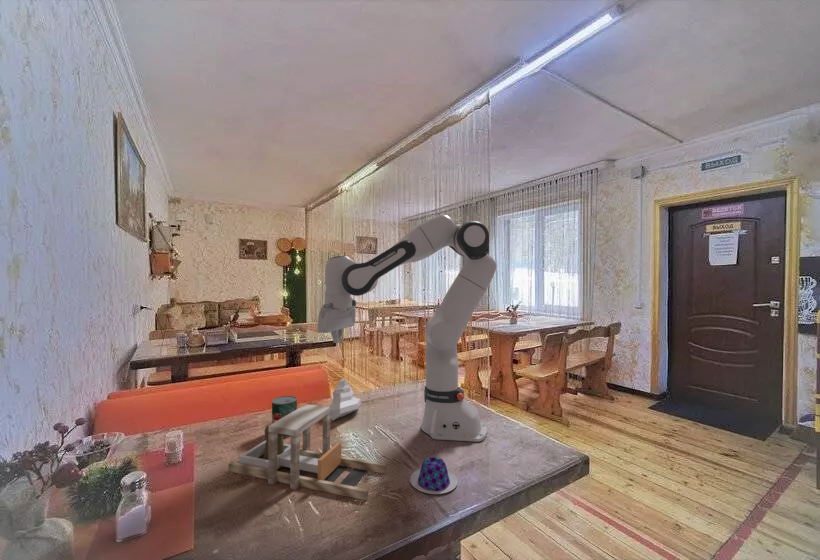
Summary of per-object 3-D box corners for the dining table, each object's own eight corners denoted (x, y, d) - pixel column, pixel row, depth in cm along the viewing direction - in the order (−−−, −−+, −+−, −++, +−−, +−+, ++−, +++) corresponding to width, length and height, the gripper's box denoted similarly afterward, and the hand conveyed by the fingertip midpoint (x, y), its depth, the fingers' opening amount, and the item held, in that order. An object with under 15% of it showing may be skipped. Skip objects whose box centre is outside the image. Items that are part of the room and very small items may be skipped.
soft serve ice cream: (317, 422, 128) (313, 382, 132) (346, 413, 141) (342, 377, 144) (341, 421, 122) (336, 379, 125) (369, 411, 134) (364, 374, 137)
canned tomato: (266, 435, 114) (266, 401, 114) (283, 426, 121) (283, 394, 121) (285, 439, 111) (285, 405, 111) (301, 429, 118) (302, 397, 118)
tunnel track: (388, 468, 94) (389, 414, 94) (363, 504, 79) (363, 440, 79) (266, 446, 106) (266, 398, 106) (223, 474, 91) (223, 418, 91)
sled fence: (341, 464, 95) (341, 442, 95) (321, 484, 86) (321, 460, 86) (265, 450, 103) (265, 430, 103) (239, 467, 93) (239, 445, 93)
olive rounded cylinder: (275, 472, 92) (276, 430, 92) (257, 467, 94) (257, 427, 94) (290, 460, 98) (290, 421, 98) (273, 457, 100) (273, 418, 100)
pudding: (420, 466, 96) (420, 447, 96) (462, 475, 92) (463, 455, 92) (402, 489, 85) (402, 468, 85) (449, 502, 81) (449, 479, 81)
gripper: (330, 304, 111) (329, 348, 111) (358, 301, 130) (358, 338, 130) (312, 304, 113) (312, 347, 113) (343, 300, 132) (343, 337, 132)
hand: (337, 342), depth 122 cm, fingers closed
